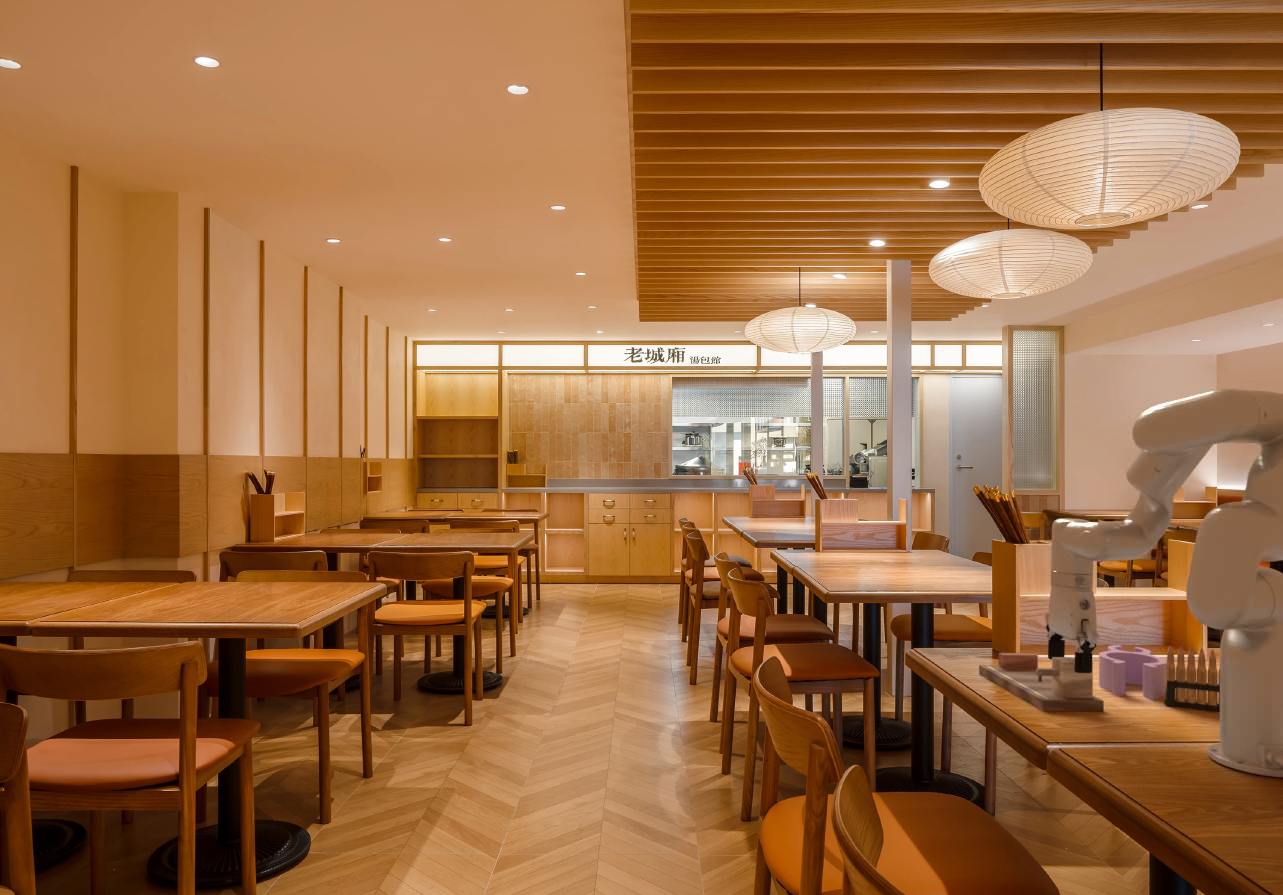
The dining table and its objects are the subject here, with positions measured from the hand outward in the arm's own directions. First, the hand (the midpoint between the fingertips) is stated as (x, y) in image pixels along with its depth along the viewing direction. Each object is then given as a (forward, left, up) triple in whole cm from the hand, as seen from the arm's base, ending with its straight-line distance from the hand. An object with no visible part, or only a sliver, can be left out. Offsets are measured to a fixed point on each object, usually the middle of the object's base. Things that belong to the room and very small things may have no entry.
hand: (1069, 665), depth 164 cm
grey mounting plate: (+9, +2, -8) cm, 12 cm away
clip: (+14, -21, -8) cm, 27 cm away
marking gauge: (-1, +2, -6) cm, 6 cm away
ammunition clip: (-3, -24, -8) cm, 26 cm away
